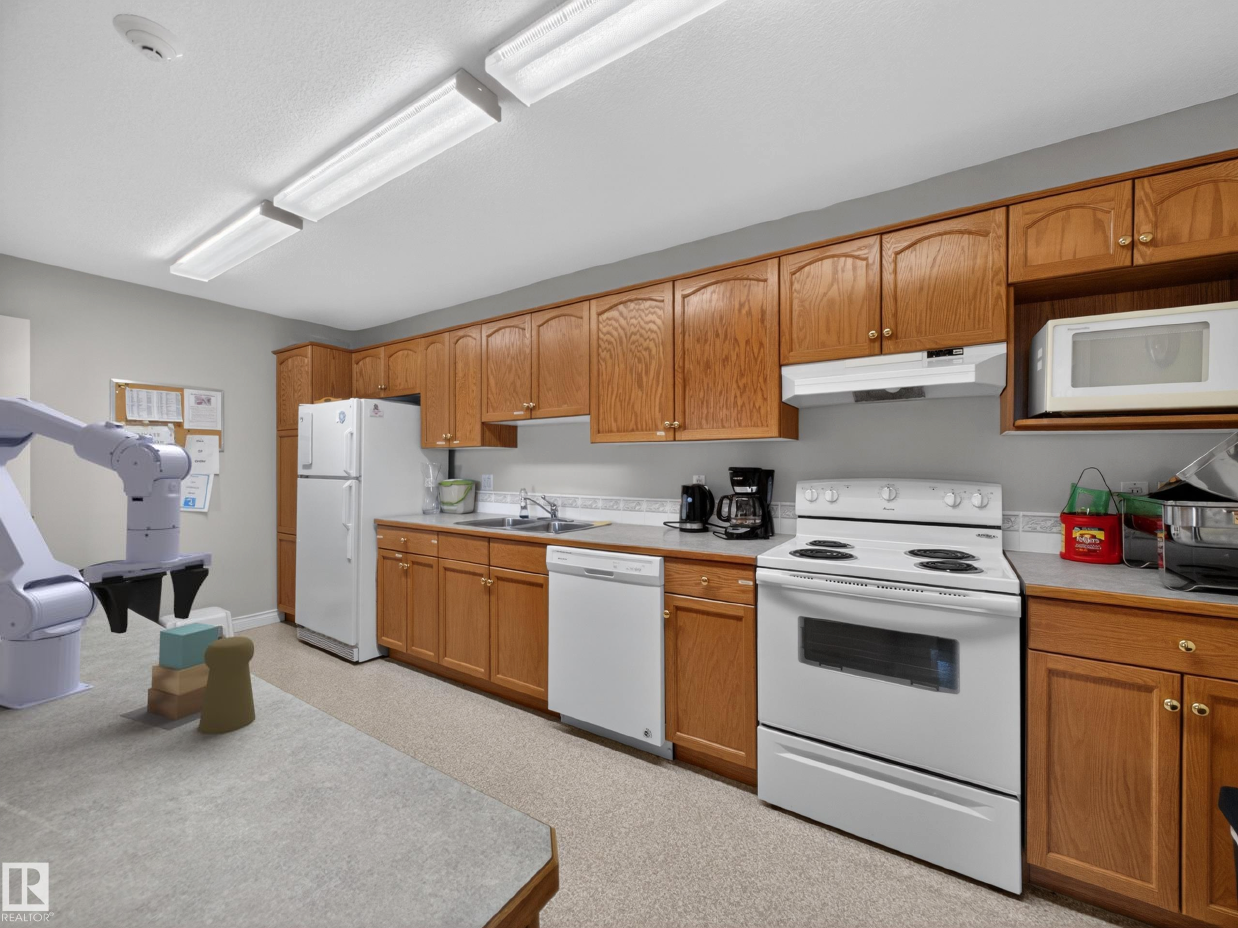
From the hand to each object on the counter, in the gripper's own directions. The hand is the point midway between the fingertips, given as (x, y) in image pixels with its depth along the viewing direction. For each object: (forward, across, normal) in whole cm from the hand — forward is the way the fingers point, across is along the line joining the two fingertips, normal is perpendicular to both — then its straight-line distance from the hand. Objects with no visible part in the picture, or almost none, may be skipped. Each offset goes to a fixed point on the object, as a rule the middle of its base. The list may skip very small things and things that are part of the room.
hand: (151, 624), depth 76 cm
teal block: (+4, 0, -8) cm, 9 cm away
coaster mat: (+10, 0, -8) cm, 13 cm away
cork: (+11, -1, -18) cm, 21 cm away
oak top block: (+7, 0, -8) cm, 11 cm away
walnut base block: (+10, 0, -8) cm, 13 cm away
